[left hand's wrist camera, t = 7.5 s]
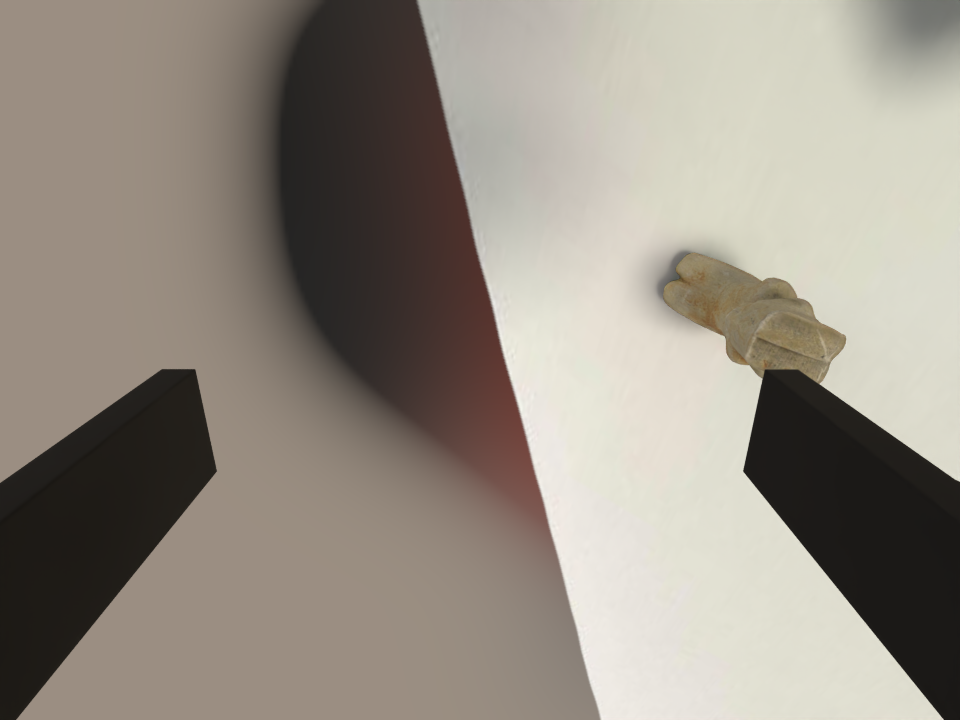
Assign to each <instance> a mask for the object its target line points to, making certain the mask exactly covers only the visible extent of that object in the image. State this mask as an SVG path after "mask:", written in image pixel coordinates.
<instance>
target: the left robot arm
mask: <svg viewBox="0 0 960 720" xmlns="http://www.w3.org/2000/svg"><path fill="white" fill-rule="evenodd" d="M216 472H217V470H216V465H215V460H214V456H213V451H212V446H211V442H210V437H209V432H208V427H207V423H206V418H205V413H204V409H203V404H202V399H201V394H200V390H199V385H198V380H197V375H196V371H195V369H162V370H160V371H159V372H157V373H156V374H155V375H153V376H152V377H150V378H149V379H148V380H146V381H145V382H143V383H142V384H140V385H139V386H138V387H136V388H135V389H133V390H132V391H130V392H129V393H128V394H126V395H125V396H123V397H122V398H121V399H119V400H118V401H116V402H115V403H113V404H112V405H111V406H109V407H108V408H106V409H105V410H103V411H102V412H101V413H99V414H98V415H96V416H95V417H94V418H92V419H91V420H89V421H88V422H86V423H85V424H84V425H82V426H81V427H79V428H78V429H76V430H75V431H74V432H72V433H71V434H69V435H68V436H67V437H65V438H64V439H62V440H61V441H59V442H58V443H57V444H55V445H54V446H52V447H51V448H49V449H48V450H47V451H45V452H44V453H42V454H41V455H39V456H38V457H37V458H35V459H34V460H32V461H31V462H29V463H28V464H27V465H25V466H24V467H22V468H21V469H20V470H18V471H17V472H15V473H14V474H12V475H11V476H10V477H8V478H7V479H5V480H4V481H2V482H1V483H0V720H16V719H17V718H18V717H19V715H20V714H21V713H22V712H23V711H24V709H25V708H26V707H27V706H28V704H29V703H30V702H31V701H32V699H33V698H34V697H35V696H36V694H37V693H38V692H39V691H40V690H41V688H42V687H43V686H44V685H45V683H46V682H47V681H48V680H49V678H50V677H51V676H52V675H53V673H54V672H55V671H56V670H57V668H58V667H59V666H60V665H61V664H62V662H63V661H64V660H65V659H66V657H67V656H68V655H69V654H70V652H71V651H72V650H73V649H74V647H75V646H76V645H77V644H78V642H79V641H80V640H81V639H82V638H83V636H84V635H85V634H86V633H87V631H88V630H89V629H90V628H91V626H92V625H93V624H94V623H95V621H96V620H97V619H98V618H99V616H100V615H101V614H102V613H103V612H104V610H105V609H106V608H107V607H108V605H109V604H110V603H111V602H112V600H113V599H114V598H115V597H116V595H117V594H118V593H119V592H120V590H121V589H122V588H123V587H124V586H125V584H126V583H127V582H128V581H129V579H130V578H131V577H132V576H133V574H134V573H135V572H136V571H137V569H138V568H139V567H140V566H141V565H142V563H143V562H144V561H145V560H146V558H147V557H148V556H149V555H150V553H151V552H152V551H153V550H154V548H155V547H156V546H157V545H158V544H159V542H160V541H161V540H162V539H163V537H164V536H165V535H166V534H167V532H168V531H169V530H170V529H171V527H172V526H173V525H174V524H175V522H176V521H177V520H178V519H179V518H180V516H181V515H182V514H183V513H184V511H185V510H186V509H187V508H188V506H189V505H190V504H191V503H192V501H193V500H194V499H195V498H196V496H197V495H198V494H199V493H200V492H201V490H202V489H203V488H204V487H205V485H206V484H207V483H208V482H209V480H210V479H211V478H212V477H213V475H214V474H215V473H216ZM743 472H744V473H745V474H746V475H747V477H748V478H749V479H750V480H751V482H752V483H753V484H754V485H755V487H756V488H757V489H758V490H759V492H760V493H761V494H762V495H763V496H764V498H765V499H766V500H767V501H768V503H769V504H770V505H771V506H772V508H773V509H774V510H775V511H776V513H777V514H778V515H779V516H780V518H781V519H782V520H783V521H784V522H785V524H786V525H787V526H788V527H789V529H790V530H791V531H792V532H793V534H794V535H795V536H796V537H797V539H798V540H799V541H800V542H801V544H802V545H803V546H804V547H805V548H806V550H807V551H808V552H809V553H810V555H811V556H812V557H813V558H814V560H815V561H816V562H817V563H818V565H819V566H820V567H821V568H822V569H823V571H824V572H825V573H826V574H827V576H828V577H829V578H830V579H831V581H832V582H833V583H834V584H835V586H836V587H837V588H838V589H839V591H840V592H841V593H842V594H843V595H844V597H845V598H846V599H847V600H848V602H849V603H850V604H851V605H852V607H853V608H854V609H855V610H856V612H857V613H858V614H859V615H860V617H861V618H862V619H863V620H864V621H865V623H866V624H867V625H868V626H869V628H870V629H871V630H872V631H873V633H874V634H875V635H876V636H877V638H878V639H879V640H880V641H881V643H882V644H883V645H884V646H885V647H886V649H887V650H888V651H889V652H890V654H891V655H892V656H893V657H894V659H895V660H896V661H897V662H898V664H899V665H900V666H901V667H902V668H903V670H904V671H905V672H906V673H907V675H908V676H909V677H910V678H911V680H912V681H913V682H914V683H915V685H916V686H917V687H918V688H919V690H920V691H921V692H922V693H923V694H924V696H925V697H926V698H927V699H928V701H929V702H930V703H931V704H932V706H933V707H934V708H935V709H936V711H937V712H938V713H939V714H940V716H941V717H942V718H943V719H944V720H960V482H959V481H957V480H955V479H953V478H952V477H950V476H949V475H948V474H946V473H945V472H943V471H942V470H940V469H939V468H938V467H936V466H935V465H933V464H932V463H931V462H929V461H928V460H926V459H925V458H923V457H922V456H921V455H919V454H918V453H916V452H915V451H913V450H912V449H911V448H909V447H908V446H906V445H905V444H903V443H902V442H901V441H899V440H898V439H896V438H895V437H894V436H892V435H891V434H889V433H888V432H886V431H885V430H884V429H882V428H881V427H879V426H878V425H876V424H875V423H874V422H872V421H871V420H869V419H868V418H867V417H865V416H864V415H862V414H861V413H859V412H858V411H857V410H855V409H854V408H852V407H851V406H849V405H848V404H847V403H845V402H844V401H842V400H841V399H840V398H838V397H837V396H835V395H834V394H832V393H831V392H830V391H828V390H827V389H825V388H824V387H822V386H821V385H820V384H818V383H817V382H815V381H814V380H812V379H811V378H810V377H808V376H807V375H805V374H804V373H803V372H801V371H800V370H798V369H765V371H764V375H763V380H762V385H761V389H760V394H759V399H758V404H757V408H756V413H755V418H754V423H753V427H752V432H751V437H750V441H749V446H748V451H747V456H746V460H745V465H744V470H743Z"/></svg>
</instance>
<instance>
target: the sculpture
mask: <svg viewBox="0 0 960 720" xmlns="http://www.w3.org/2000/svg"><path fill="white" fill-rule="evenodd" d="M676 272H677V273H678V275H679V276H680V279H678V280H675V281H671V282H669V283H668V284H667V285H666V286H665V288H664V294H663V298H664V301H665V302H666V304H667V305H668V306H669V307H671V308H672V309H674V310H675V311H677V312H678V313H680V314H681V315H683V316H685V317H687V318H688V319H690V320H692V321H693V322H695V323H697V324H699V325H701V326H703V327H705V328H707V329H710V330H712V331H714V332H716V333H718V334H720V335H723V336H725V338H726V352H727V355H728V357H729V358H730V359H731V360H732V361H733V362H735V363H738V364H742V365H750V366H751V368H752V369H753V370H754V372H755V373H756V374H757V375H758V376H759V377H761V378H763V375H764V371H765V369H798V370H800V371H801V372H803V373H804V374H805V375H807V376H808V377H810V378H811V379H812V380H814V381H815V382H817V383H818V384H819V383H821V382H822V381H823V379H824V377H825V375H826V374H827V372H828V369H829V365H830V363H831V361H832V360H833V358H835V357H836V356H837V355H838V354H839V353H840V352H841V350H842V349H843V348H844V346H845V343H846V336H845V335H843V334H841V333H839V332H838V331H836V330H835V329H833V328H830V327H828V326H826V325H824V324H822V323H820V322H819V321H818V320H817V319H816V318H815V315H814V312H813V308H812V306H811V304H810V303H809V302H807V301H806V300H803V299H799V298H797V295H796V293H795V291H794V289H793V288H792V286H791V285H790V284H789V283H788V282H786V281H784V280H781V279H777V278H767V279H765V280H764V281H761V280H759V279H758V278H756V277H754V276H753V275H751V274H749V273H747V272H745V271H742V270H740V269H738V268H736V267H733V266H731V265H729V264H726V263H724V262H721V261H718V260H715V259H713V258H710V257H707V256H703V255H700V254H697V253H691V254H688V255H686V256H685V257H684V258H683V259H682V260H681V262H680V263H679V264H678V265H677V267H676Z"/></svg>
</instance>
